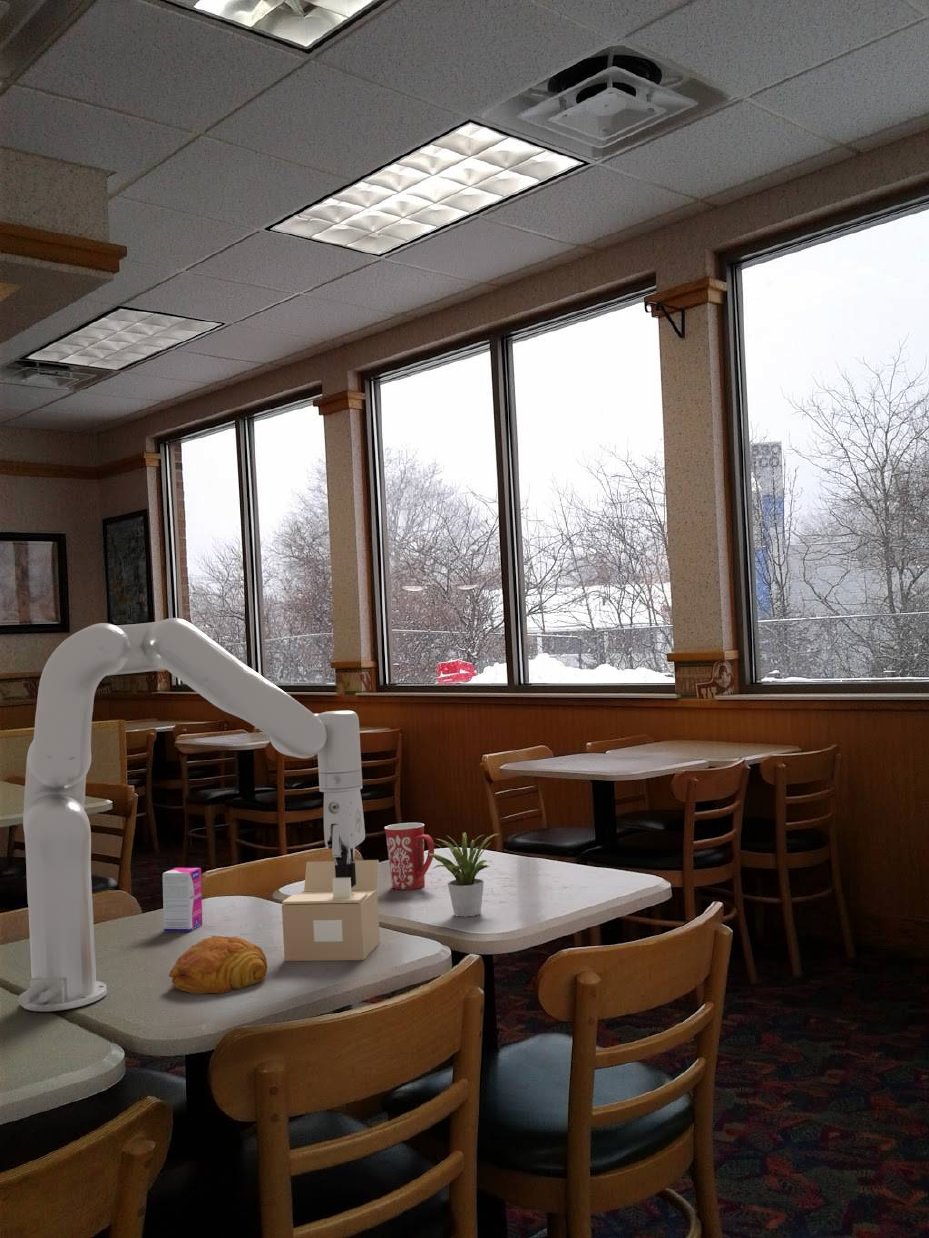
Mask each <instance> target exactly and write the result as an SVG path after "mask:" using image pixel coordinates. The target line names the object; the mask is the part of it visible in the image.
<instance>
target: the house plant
mask: <svg viewBox="0 0 929 1238" xmlns="http://www.w3.org/2000/svg"><path fill="white" fill-rule="evenodd" d="M498 835H501V832H500V833H493V834H491V835H489V836H487V837H486V838H485V839H484V840H483V841H482V842H481V843H480V844H479V845H478V846H476V847H474V846H475V843H476V841H477V840H478V839H479V838H481V837H483V836H484V834H482V835H479V836H477V837H476V838H475V839H472V840H471V841H470V847H469V855H468V836H467V833H466V832H464V831H463V832H462V839H461V848H460V846H459V845H458V844H457V842H456V841H455V840H454V839H453V838H451V837H450V836H449V835H447V838H449V839H450V840H451V841H452V843H454V845H455V846H454V845H453V844H452V843H450V842H449V841H446V840H443V839H440V838H434V840H439V841H441V842H443V843H441V842H440V844H442V845H445V846H447V847H448V849H449V850H450V852H451V853H452V855H451V854H450V853H449V852H448V851H446V850H445V851H446V853H447V854H448V855H449V856H450V857H452V856H453V857H454V858H452V860H453V861H454V862H455V863H453V862H452V861H451V860H450V859H448V858H446V857H443V856H441V855H438V854H436V853H434V854H429V853H428V852H426V853H425V852H424V855H425V854H427V856H428V855H430V856H432V857H433V859H434V860H436V861H438V862H440V863H441V864H437V865H435V866H434V867H432V870H434V869H435V868H436V869H437V868H438V867H444V868H446V869H447V870H448V871H449V872H450V873H451V875H453V877H454V879H452V880H450V881H448V882H447V886H448V893H449V896H450V901H451V905H452V906H451V907H452V910H453V915H454V914H455V915H457V916H473V917H476V916H475V915H477V916H479V915H481V914H480V913H482V903H483V892H484V883H485V881H484V880H483V879H482V878H477V877H476V876H477V874H478V873H479V872H480V871H482V870H484V869H487V868H490V865H488V864H485V863H486V862H488V860H486V859H482V860H479V859H480V857H481V856H482V855H483V853H484V852H485V850H486V849H487V847H489V845H490V844H491V842H489V843H488V844H487V842H488V841H489V840H490V839H491V838H493V837H494V836H498ZM433 844H434V845H436V846H438V847H440V848H442V846H440V845H439V844H436V843H433ZM485 844H486V846H485ZM484 846H485V847H484ZM442 849H443V848H442ZM478 861H479V862H478ZM477 862H478V863H477ZM489 862H490V863H492V861H491V860H489ZM478 914H479V915H478ZM455 915H454V916H455ZM457 916H456V917H457Z"/></svg>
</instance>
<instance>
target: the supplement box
mask: <svg viewBox="0 0 929 1238" xmlns="http://www.w3.org/2000/svg"><path fill="white" fill-rule="evenodd" d="M202 894H203V892H202V868H201V867H174V868H172V869H170V870H167V871H165V872H163V873H162V901H163V904H162V905H163V932H164V933H172V932H173V933H180V932H181V933H187V932H188V933H189V932H191V931H193V930H194V929H196V928H199V927H200V926H202V925H203V897H202Z"/></svg>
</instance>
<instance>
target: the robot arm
mask: <svg viewBox="0 0 929 1238" xmlns="http://www.w3.org/2000/svg"><path fill="white" fill-rule="evenodd" d="M46 661H47V662H45V665H44V667H43V670H42V673H41V676H40V679H39V684H38V690H37V691H38V692H37V701H36V710H35V716H34V717H35V718H34V731H33V740H32V742H31V743H30V745H29V748H28V751H27V755H26V764H25V765H26V766H25V767H26V768H25V783H24V797H23V799H24V800H23V815H22V816H23V818H22V825H23V832H24V833H23V834H24V845H25V849H24V850H25V864H26V868H25V869H26V891H27V905H28V909H27V910H28V925H29V926H28V929H29V930H28V931H29V946H30V947H29V949H30V953H29V954H30V972H31V973H30V974H31V979H30V980H29V988H28V990H25V991H23V992H22V993H20V994H19V995H18V996H17V1003H18V1005H19V1006H21V1007H22V1008H23V1009H25V1010H28V1011H31V1012H40V1013H41V1012H42V1013H43V1012H45V1013H46V1012H57V1011H65V1010H71V1009H77V1008H81V1007H84V1006H87V1005H90V1004H92V1003H95V1002H97V1001H100V1000H101V999H103V998H104V997H105V996H106V995H107V993H108V989H107V987H108V986H107V985H106V983H104V982H103V981H98V980H97V976H96V975H97V972H96V968H97V967H96V949H95V930H94V929H95V928H94V927H95V926H94V908H93V905H94V904H93V891H92V858H91V857H92V831H91V823H90V819H89V817H88V814H87V812H86V811H85V801H86V784H87V783H86V782H87V774H88V772H89V770H90V768H91V765H92V764H91V763H92V748H91V747H92V746H91V745H92V723H93V722H92V721H93V720H92V719H93V712H94V702H95V701H94V700H95V695H96V691H97V688H98V686H99V684H100V682H101V681H102V680H103V678H105V677H106V676H115V675H125V674H137V673H145V672H146V673H147V672H156V671H162V670H166V671H168V672H169V673H170V674H171V675H173V676H174V677H175V678H177V679H178V680H180V681H182V683H184V684H186V686H187V687H189V688H191V690H193V691H194V692H197V693H198V694H199V695H200V696H201V697H202V698H204V699H206V700H207V701H208V702H209V703H211V705H213V706H215V707H216V708H218V709H220V710H222V712H226V713H228V714H231V715H232V716H235V717H236V718H237V717H238V718H240V719H242V720H244V721H246V722H247V723H249V724H250V725H252V726H253V727H255V728H257V729H258V730H260V731H261V732H263V734H265V735H267V736H268V737H269V741H270V743H271V745H272V746H273V748H274V749H275V751H277V752H279V753H280V754H282V755H285V756H289V757H295V758H298V759H310V758H313V757H315V756H316V755H317V765H318V767H317V768H318V783H319V784H318V785H319V790H318V791H319V792H321V793H323V834H324V836H323V837H324V845H325V847H326V849H328V850H332V852H331V853H332V854H331V856H332V858H333V861H334V863H335V877H336V878H340V877H351V887H353V886H355V885H356V872H355V861H356V849H355V848H356V847H357V846H359V845H360V844H361V843H363V841H365V838H366V829H365V818H364V809H363V807H364V806H363V800H362V795H361V790H362V789H363V773H362V772H363V771H362V756H361V755H362V753H361V736H360V735H361V734H360V720H359V716H358V714H357V712H355V711H353V710H332V711H330V710H329V711H324V712H321V713H314V712H312V711H311V710H310V709H308V708H307V707H305V706H304V705H303V704H302V703H300V702H299V701H298V700H296V699H295V698H294V697H292V696H291V695H290V694H288V693H287V692H285V691H284V690H282V689H281V688H279V687H278V686H276V685H275V684H274V683H272V682H271V681H269V680H268V679H266V678H264V677H263V676H262V675H261V674H259V672H257V671H255V670H254V669H252V668H251V667H249V666H247V665H246V664H245V663H244V662H242V661H241V660H239V659H238V658H237V657H235V656H234V655H233V654H231V653H230V652H229V651H227V650H226V649H225V648H223V647H222V646H221V645H219V644H218V643H217V642H216V641H215V640H214V639H212V638H210V637H209V636H208V635H207V634H206V633H204V632H203V631H201V630H200V629H199V628H197V626H195V625H194V624H192V623H190V622H189V621H187V620H185V619H182V618H178V617H170V618H166V619H163V620H159V621H152V622H144V623H143V622H142V623H135V624H134V623H133V624H132V623H131V624H120V625H119V624H118V625H115V624H112V623H108V622H107V623H105V622H102V623H101V622H100V623H94V624H92V625H90V626H87V627H84V628H82V629H80V630H78V631H77V632H75V633H73V634H72V635H70V636H68V637H67V638H66V639H65V640H64V641H62V642H61V643H60V644H59V645H57V647H56V648H55V649H54V651H53V652H52V653H51V655H50V656H49V657H48V659H47V660H46ZM352 862H354V863H352Z"/></svg>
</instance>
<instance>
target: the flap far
mask: <svg viewBox="0 0 929 1238" xmlns="http://www.w3.org/2000/svg"><path fill="white" fill-rule="evenodd" d="M379 862H380V861H379V859H364V860H361V859H360V860H356V859H355V872H356V885H355V886H353V887H351V890H364V889H377V890H378V884H379V880H378V878H379V867H380V866H379ZM305 863H306V865H305V866H306V867H305V877H304V887H303V889H304V890H303V891H317V890H333V885H332V879H333V878H336V877H335V863H334V860H331V861H330V860H325V861H324V860H322V861H318V860H317V861H306V862H305ZM352 863H354V862H352Z"/></svg>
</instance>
